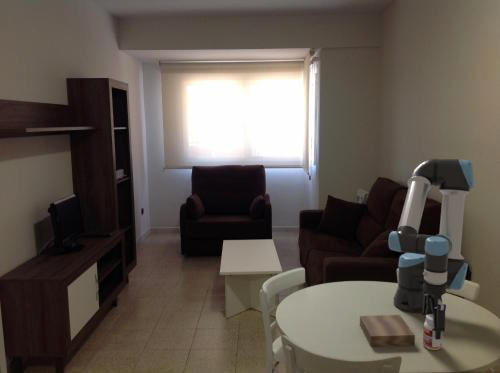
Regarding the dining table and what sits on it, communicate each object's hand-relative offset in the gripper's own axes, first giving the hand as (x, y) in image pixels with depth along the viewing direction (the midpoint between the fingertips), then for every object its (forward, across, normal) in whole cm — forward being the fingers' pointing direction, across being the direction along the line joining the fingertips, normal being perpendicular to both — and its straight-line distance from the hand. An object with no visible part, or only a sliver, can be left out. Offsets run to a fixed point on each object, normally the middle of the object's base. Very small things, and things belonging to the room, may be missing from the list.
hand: (432, 341), depth 159 cm
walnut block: (+2, -9, -14) cm, 17 cm away
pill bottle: (+2, 0, 0) cm, 2 cm away
